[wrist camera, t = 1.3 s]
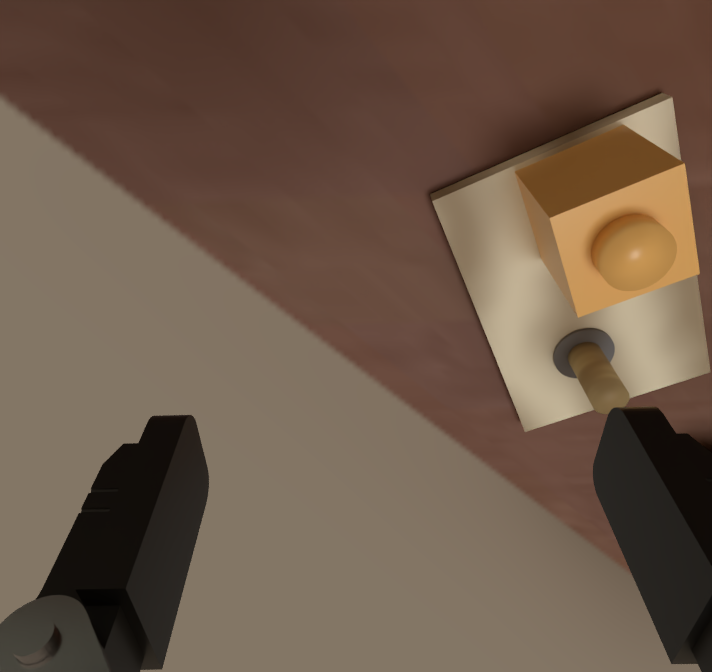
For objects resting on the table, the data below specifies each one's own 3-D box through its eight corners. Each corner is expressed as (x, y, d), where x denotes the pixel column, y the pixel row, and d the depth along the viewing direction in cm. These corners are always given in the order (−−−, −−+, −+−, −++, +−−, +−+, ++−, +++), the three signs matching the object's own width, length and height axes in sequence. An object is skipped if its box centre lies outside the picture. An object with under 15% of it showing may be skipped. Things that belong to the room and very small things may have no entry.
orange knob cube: (623, 124, 27) (700, 173, 21) (641, 220, 30) (714, 287, 24) (514, 171, 29) (558, 230, 23) (541, 259, 31) (587, 331, 25)
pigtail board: (662, 92, 27) (724, 120, 23) (702, 362, 37) (752, 421, 32) (429, 194, 30) (444, 237, 26) (521, 421, 39) (544, 483, 35)
